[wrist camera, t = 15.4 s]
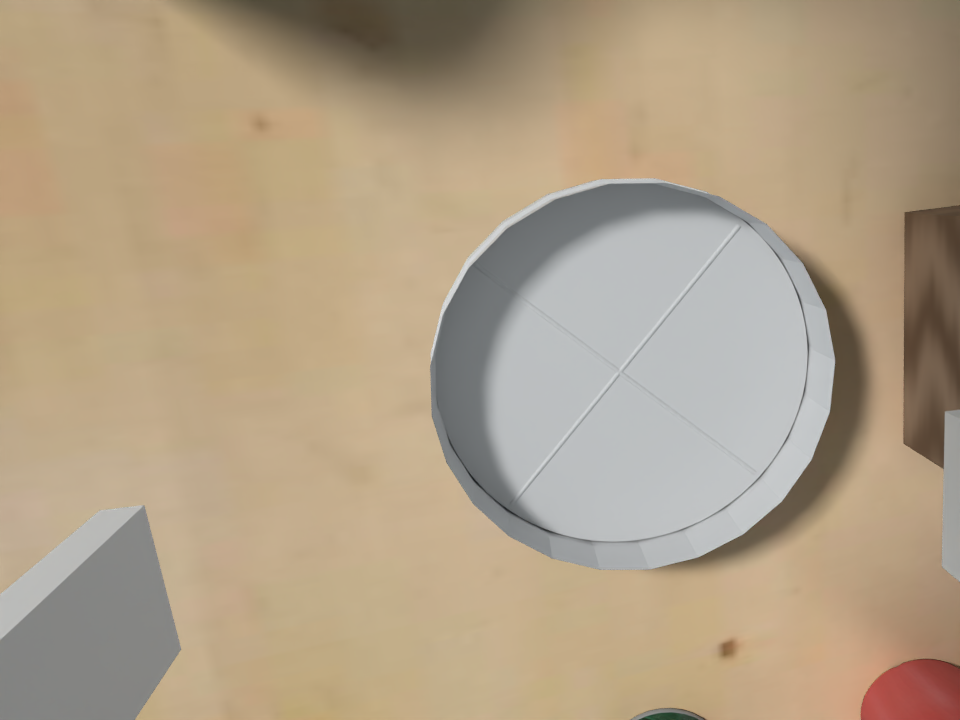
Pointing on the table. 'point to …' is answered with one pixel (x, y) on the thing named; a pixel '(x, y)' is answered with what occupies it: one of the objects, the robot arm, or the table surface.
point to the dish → (630, 373)
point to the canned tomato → (667, 715)
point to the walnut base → (931, 327)
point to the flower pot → (915, 693)
